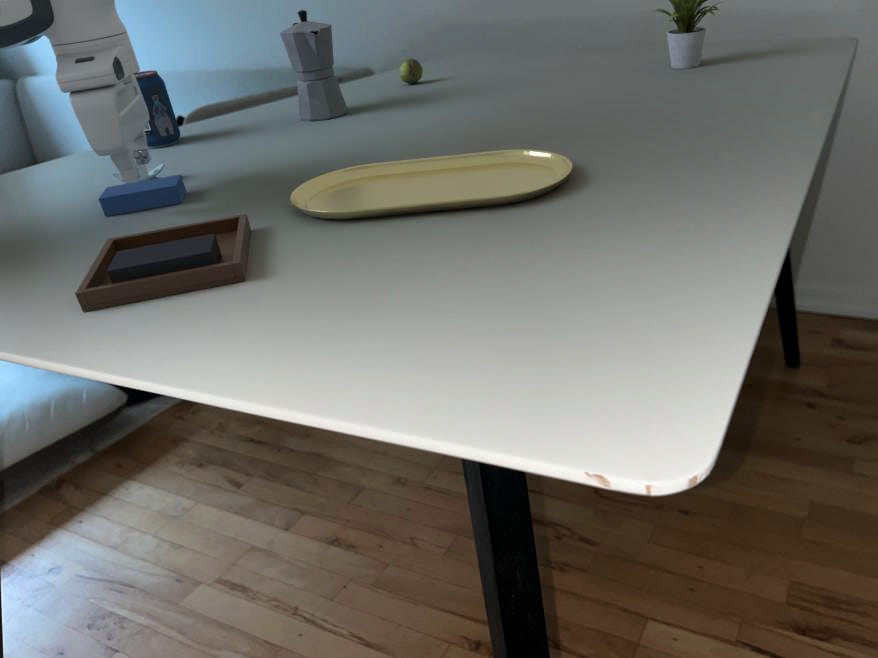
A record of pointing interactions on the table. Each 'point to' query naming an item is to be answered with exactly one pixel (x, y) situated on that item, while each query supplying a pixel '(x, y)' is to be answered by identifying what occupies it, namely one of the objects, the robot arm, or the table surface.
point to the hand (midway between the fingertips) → (139, 172)
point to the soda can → (158, 111)
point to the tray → (231, 269)
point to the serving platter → (432, 184)
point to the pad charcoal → (164, 258)
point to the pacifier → (141, 170)
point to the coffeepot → (314, 69)
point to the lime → (410, 71)
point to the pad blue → (142, 195)
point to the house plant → (686, 32)
